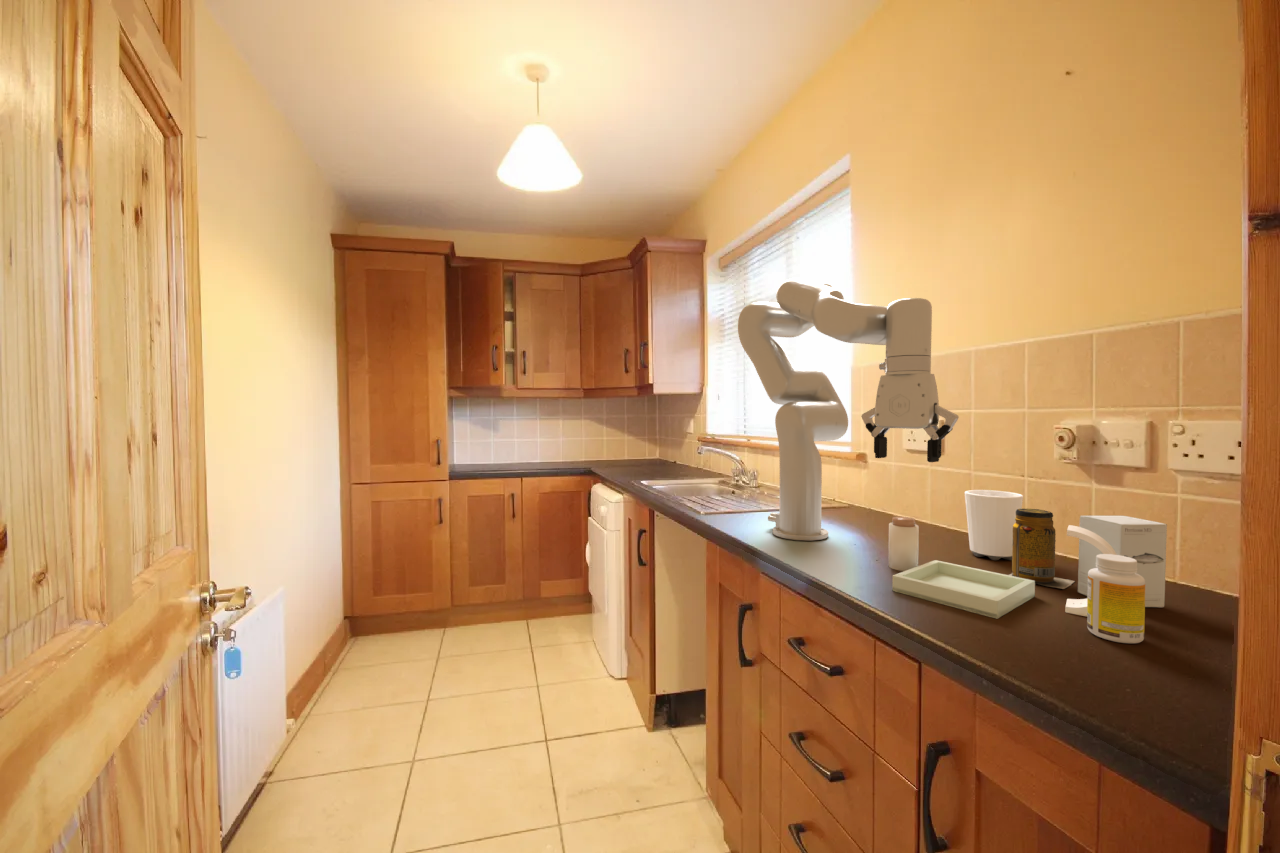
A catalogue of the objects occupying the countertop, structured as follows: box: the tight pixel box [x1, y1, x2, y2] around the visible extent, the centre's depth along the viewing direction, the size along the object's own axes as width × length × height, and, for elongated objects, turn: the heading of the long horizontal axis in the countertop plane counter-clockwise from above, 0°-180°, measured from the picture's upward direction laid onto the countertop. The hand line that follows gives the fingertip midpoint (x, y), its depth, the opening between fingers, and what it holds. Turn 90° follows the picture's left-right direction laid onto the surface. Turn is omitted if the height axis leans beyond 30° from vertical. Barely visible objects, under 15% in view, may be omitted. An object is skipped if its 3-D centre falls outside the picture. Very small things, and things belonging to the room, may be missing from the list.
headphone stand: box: [1064, 524, 1117, 617], centre depth 77 cm, size 5×6×12 cm
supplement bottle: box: [1086, 554, 1146, 644], centre depth 69 cm, size 6×6×10 cm
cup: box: [964, 489, 1024, 561], centre depth 108 cm, size 10×10×13 cm
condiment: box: [1008, 508, 1076, 590], centre depth 93 cm, size 7×8×12 cm
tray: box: [891, 559, 1036, 620], centre depth 86 cm, size 15×15×2 cm
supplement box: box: [1077, 515, 1168, 608], centre depth 83 cm, size 7×7×13 cm
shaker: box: [888, 516, 920, 572], centre depth 100 cm, size 5×5×9 cm
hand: (906, 459), depth 100 cm, fingers open, 9 cm apart
